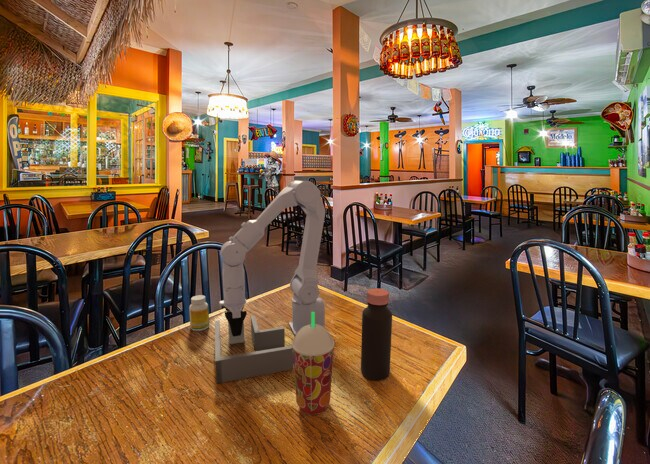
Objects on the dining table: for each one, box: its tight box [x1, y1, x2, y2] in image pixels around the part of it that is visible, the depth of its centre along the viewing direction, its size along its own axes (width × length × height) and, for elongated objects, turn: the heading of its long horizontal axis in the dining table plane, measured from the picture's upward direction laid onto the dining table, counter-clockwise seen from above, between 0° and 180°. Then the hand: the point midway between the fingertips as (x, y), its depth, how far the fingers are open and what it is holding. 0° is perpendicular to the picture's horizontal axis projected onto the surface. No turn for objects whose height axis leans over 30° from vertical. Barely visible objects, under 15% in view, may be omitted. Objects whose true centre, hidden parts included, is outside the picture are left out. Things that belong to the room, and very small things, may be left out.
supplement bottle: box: [188, 294, 210, 332], centre depth 98 cm, size 5×5×10 cm
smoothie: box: [291, 312, 335, 416], centre depth 65 cm, size 8×8×20 cm
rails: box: [214, 315, 294, 384], centre depth 85 cm, size 18×21×6 cm
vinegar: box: [360, 287, 393, 382], centre depth 75 cm, size 7×7×20 cm
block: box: [227, 310, 245, 345], centre depth 91 cm, size 4×4×8 cm
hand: (236, 331), depth 92 cm, fingers closed on block, 4 cm apart
